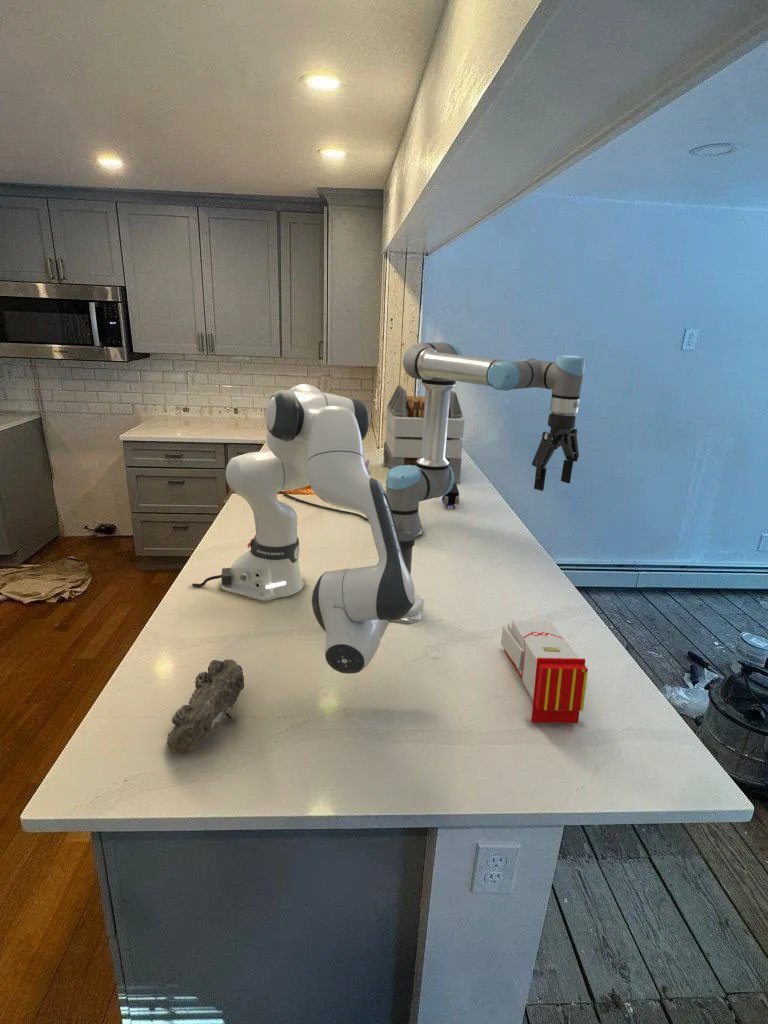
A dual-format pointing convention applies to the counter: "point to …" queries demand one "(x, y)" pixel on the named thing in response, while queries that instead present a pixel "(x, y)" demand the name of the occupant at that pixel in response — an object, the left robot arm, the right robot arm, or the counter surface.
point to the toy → (547, 670)
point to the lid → (406, 540)
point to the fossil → (206, 705)
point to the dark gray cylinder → (408, 557)
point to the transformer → (419, 431)
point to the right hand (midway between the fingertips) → (552, 485)
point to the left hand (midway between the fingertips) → (383, 586)
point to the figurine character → (451, 497)
